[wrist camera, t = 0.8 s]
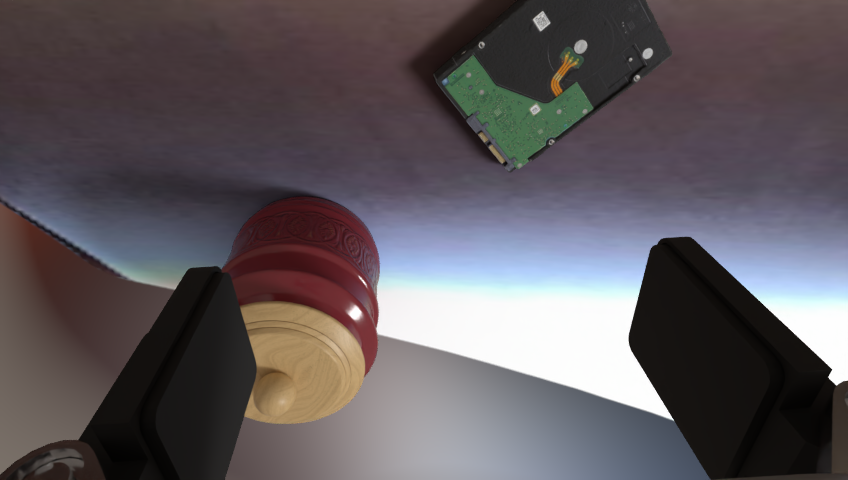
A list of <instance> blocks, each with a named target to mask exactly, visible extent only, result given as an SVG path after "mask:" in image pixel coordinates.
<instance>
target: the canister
mask: <svg viewBox="0 0 848 480" xmlns="http://www.w3.org/2000/svg"><path fill="white" fill-rule="evenodd" d="M221 270H222V273H224V272H227V273H229V274H230V276H231V278H232V282H233V285H234V289H235V292H236V295H237V299H238V302H239V306H240V309H241V312H242V316H243V319H244V322H245V326H246V329H247V333H248V336H249V339H250V343H251V346H252V350H253V353H254V356H255V360H256V365H257V373H256V379H255V382H254V386H253V389H252V392H251V395H250V399H249V402H248V405H247V408H246V412H245V415H244V416H245V417H248V418H251V419H254V420H258V421H262V422H267V423H275V424H293V423H303V422H309V421H313V420H317V419H320V418H323V417H326V416H328V415H330V414H332V413H334V412H336V411H338V410H339V409H341V408H342V407H344V406H345V405H346V404H348V403H349V402H350V401H351V400H352V399H353V397H354V396H355V395H356V394H357V392H358V391H359V389H360V387H361V385H362V382H363V379H364V377H365V376H366V375H367V373H368V372H369V371H370V369H371V367H372V365H373V363H374V361H375V358H376V354H377V349H378V337H377V331H376V327H377V323H378V317H379V309H378V302H377V284H378V280H379V273H380V262H379V255H378V251H377V247H376V245H375V242H374V240H373V237H372V235H371V233H370V231H369V230H368V228H367V227H366V226H365V224H364V223H363V222H362V221H361V220H360V219H359V218H358V217H357V216H356V215H355V214H354V213H352V212H351V211H349V210H348V209H346V208H345V207H343V206H341V205H339V204H337V203H334V202H332V201H329V200H325V199H321V198H316V197H304V196H301V197H290V198H285V199H281V200H278V201H275V202H273V203H271V204H269V205H267V206H265V207H264V208H262V209H261V210H259V211H258V212H257V213H256V214H255V215H253V216H252V217H251V218H250V219H249V220H248V221H247V222H246V223H245V224H244V225H243V227H242V228H241V230H240V231H239V233H238V235H237V237H236V239H235V241H234V243H233V246H232V250H231V253H230V255H229V257H228V259H227V261H226V263H225V265H224V267H223V268H222V269H221Z"/></svg>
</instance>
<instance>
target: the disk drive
mask: <svg viewBox="0 0 848 480" xmlns="http://www.w3.org/2000/svg"><path fill="white" fill-rule="evenodd" d="M671 56H672V51H671V49H670V47H669V45H668V43H667V41H666V39H665V38H664V35H663V33H662V31H661V30H660V28H659V26H658V24H657V22H656V20H655V18H654V16H653V14H652V12H651V10H650V8H649V6H648V4H647V2H646V0H518V1H516V2H515V3H514V4H513V5H512V6H511V7H509V9H507V10H506V11H505V12H504V13H503V14H501V15H500V16H499V17H498V18H497V19H496V20H495V21H494V22H492V23H491V24H490V25H489V26H488V27H487V28H486V29H484V30H483V31H482V32H481V33H480V34H478V35H477V36H476V37H475V38H474V39H473V40H472V41H470V42H469V43H468V44H467V45H466V46H463V47H462V48H461V49H460V50H459V51H458V52H456V53H455V54H454V55H453V56H452V58H451V59H449V60H448V61H447V62H446V63H445V64H444V65H442V66H441V67H440V68H439V69H438V70H437V71H436V72H434V74H433V76H434V79H435V81H436V83H437V84H438V86H439V87H440V88H441V90H442V91H443V92H444V93H445V95H446V96H447V97H448V98H449V100H450V101H451V102H452V103H453V104H454V106H455V107H456V108H457V110H458V111H459V112H460V113H461V115H462V116H463V117H464V118H465V119H466V121H467V123H468V124H469V125H470V127H471V128H472V129H473V130H474V131H475V133H477V134H478V136H479V137H480V138H481V139H482V141H483V142H484V143H485V144H486V145H487V147H488V148H489V149H490V151H491V152H492V153H493V154H494V156H495V157H496V158H497V159H498V161H499V162H500V163H501V164H502V165H503V167H504V168H505V169H506V170H507V171H508V172H512V171H513V170H515V169H516V168H517V169H519V168H521V167H522V166H523V165H524V164H526V163H527V162H528V161H533V160H534V159H535V158H537V157H538V156H539V155H541V154H542V153H543V152H544V151H546V150H547V149H548V148H550V146H552V145H554V143H556V142H557V141H559V140H560V139H562V138H563V137H564V136H565V135H567V134H568V133H570V132H571V131H572V130H573V129H575V128H577V127H578V126H579V125H580V124H581V123H583V122H584V121H586V120H587V119H588V118H590V117H591V116H592V115H594V114H595V113H596V112H597V111H599V110H600V109H601V108H603V107H604V106H606V105H607V104H608V103H610V102H611V101H612V100H614V99H615V98H616V97H618V96H619V95H620V94H621V93H623V92H624V91H626V90H627V89H628V88H630V87H631V86H632V85H634V84H635V83H636V82H637V81H639V80H641V79H642V78H644V77H645V76H647V75H648V74H649V73H651V72H652V71H653V70H654V69H656V68H657V67H658V66H659V65H660V64H662V63H663V62H664V61H665V60H667V59H668V58H669V57H671Z"/></svg>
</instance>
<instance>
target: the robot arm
mask: <svg viewBox="0 0 848 480" xmlns="http://www.w3.org/2000/svg"><path fill="white" fill-rule="evenodd" d="M629 345H630V348H631V351H632V352H633V354H634V356H635V357H636V359H637V361H638V362H639V364H640V365H641V367H642V369H643V370H644V372H645V374H646V375H647V377H648V379H649V380H650V382H651V383H652V385H653V387H654V388H655V390H656V392H657V393H658V395H659V396H660V398H661V400H662V401H663V403H664V405H665V406H666V408H667V410H668V411H669V413H670V414H671V416H672V418H673V419H674V421H675V423H676V424H677V426H678V428H679V429H680V431H681V432H682V434H683V436H684V437H685V439H686V441H687V442H688V444H689V445H690V447H691V449H692V450H693V452H694V453H695V455H696V457H697V459H698V460H699V462H700V463H701V465H702V467H703V468H704V470H705V471H706V473H707V475H708V476H709V478H710V479H711V480H848V381H843V382H842V383H840V384H838V385H837V386H836V385H835V384H834V383H833V382H832V381H831V380H830V379H829V378H828V376H829V374H830V372H831V371H832V369H831V368H830V367H829V366H828V365H827V364H826V363H825V362H824V361H823V360H822V359H821V358H819V357H818V356H817V355H816V354H815V353H814V352H813V351H812V350H811V349H810V348H809V347H808V346H807V345H806V344H805V343H803V342H802V341H801V340H800V339H799V338H798V337H797V336H796V335H795V334H794V333H793V332H792V331H791V330H790V329H789V328H788V327H786V326H785V325H784V324H783V323H782V322H781V321H780V320H779V319H778V318H777V317H776V316H775V315H774V314H773V313H772V312H770V311H769V310H768V309H767V308H766V307H765V306H764V305H763V304H762V303H761V302H760V301H759V300H758V299H757V298H756V297H754V296H753V295H752V294H751V293H750V292H749V291H748V290H747V289H746V288H745V287H744V286H743V285H742V284H741V283H740V282H739V281H737V280H736V279H735V278H734V277H733V276H732V275H731V274H730V273H729V272H728V271H727V270H726V269H725V268H724V267H723V266H721V265H720V264H719V263H718V262H717V261H716V260H715V259H714V258H713V257H712V256H711V255H710V254H709V253H708V252H707V251H705V250H704V249H703V248H702V247H701V246H700V245H699V244H698V243H697V242H696V241H695V240H694V239H692V238H691V237H675V238H663V239H661V240H660V241H659V242H658V244H657V245H654V246H653V247H652V248H651V250H650V253H649V257H648V261H647V265H646V269H645V273H644V277H643V281H642V285H641V289H640V293H639V297H638V301H637V305H636V309H635V313H634V316H633V320H632V324H631V328H630V332H629ZM256 373H257V365H256V360H255V356H254V353H253V350H252V346H251V343H250V339H249V336H248V333H247V329H246V326H245V322H244V319H243V316H242V312H241V309H240V306H239V302H238V299H237V295H236V292H235V289H234V285H233V282H232V278H231V276H230V274H229V273H227V272H224V273H222V270H221V269H220V268H219V267H217V266H214V267H198V268H190V269H188V270H187V272H186V273H185V275H184V276H183V278H182V280H181V281H180V283H179V284H178V286H177V288H176V289H175V291H174V293H173V294H172V296H171V297H170V299H169V300H168V302H167V304H166V305H165V307H164V309H163V310H162V312H161V313H160V315H159V317H158V318H157V320H156V321H155V323H154V325H153V326H152V328H151V329H150V331H149V333H147V334H146V335H145V336H144V337H143V339H142V340H141V342H140V343H139V345H138V346H137V348H136V350H135V351H134V353H133V354H132V356H131V358H130V359H129V361H128V362H127V364H126V366H125V367H124V369H123V370H122V372H121V373H120V375H119V377H118V378H117V380H116V382H115V383H114V384H113V386H112V388H111V389H110V391H109V392H108V394H107V396H106V397H105V399H104V400H103V402H102V404H101V405H100V407H99V408H98V410H97V411H96V413H95V415H94V416H93V418H92V420H91V421H90V423H89V424H88V426H87V427H86V429H85V430H84V432H83V434H82V435H81V437H80V438H79V440H63V441H59V442H55V443H50V444H47V445H45V446H43V447H41V448H38V449H36V450H34V451H31V452H30V453H28V454H27V455H25V456H23V457H22V458H20V459H19V460H17V461H15V462H14V463H13V464H12V465H11V466H10V467H8V468H7V469H6V470H5V471H4V472H3V473H2V474H0V480H225V477H226V474H227V470H228V467H229V464H230V461H231V457H232V454H233V451H234V448H235V444H236V441H237V438H238V434H239V431H240V428H241V424H242V421H243V418H244V415H245V412H246V408H247V405H248V402H249V399H250V395H251V392H252V389H253V386H254V382H255V379H256Z"/></svg>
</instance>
